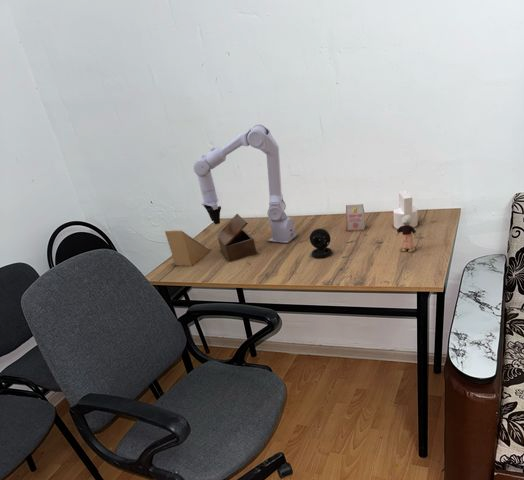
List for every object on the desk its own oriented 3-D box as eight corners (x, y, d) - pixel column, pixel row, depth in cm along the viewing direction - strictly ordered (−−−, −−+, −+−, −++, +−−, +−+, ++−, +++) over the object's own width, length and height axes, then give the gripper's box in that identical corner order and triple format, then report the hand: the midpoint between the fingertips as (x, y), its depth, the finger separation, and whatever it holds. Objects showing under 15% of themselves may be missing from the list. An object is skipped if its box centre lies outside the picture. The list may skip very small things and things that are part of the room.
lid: (238, 214, 193) (237, 213, 193) (247, 223, 182) (246, 222, 182) (217, 236, 195) (216, 235, 195) (226, 246, 184) (225, 245, 184)
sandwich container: (211, 249, 202) (202, 215, 193) (192, 265, 191) (182, 230, 183) (194, 249, 206) (185, 216, 197) (175, 265, 195) (164, 230, 187)
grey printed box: (348, 227, 195) (346, 203, 189) (365, 226, 192) (363, 202, 187) (347, 230, 192) (345, 206, 186) (363, 230, 189) (362, 205, 184)
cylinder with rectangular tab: (420, 226, 182) (420, 196, 176) (396, 230, 183) (396, 200, 176) (414, 219, 190) (414, 189, 183) (391, 222, 191) (390, 193, 184)
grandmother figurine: (418, 247, 167) (419, 213, 160) (417, 252, 165) (417, 217, 158) (396, 247, 171) (396, 213, 164) (394, 252, 168) (393, 217, 161)
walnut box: (246, 243, 201) (243, 229, 197) (256, 253, 190) (253, 238, 186) (221, 250, 199) (217, 236, 195) (229, 261, 188) (225, 247, 184)
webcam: (309, 258, 176) (306, 233, 171) (314, 250, 182) (311, 225, 176) (329, 258, 174) (326, 232, 168) (334, 249, 179) (331, 224, 174)
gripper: (195, 188, 196) (203, 220, 203) (202, 196, 184) (210, 229, 192) (211, 184, 197) (218, 215, 205) (219, 191, 185) (227, 224, 193)
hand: (215, 222), depth 198 cm, fingers open, 5 cm apart
